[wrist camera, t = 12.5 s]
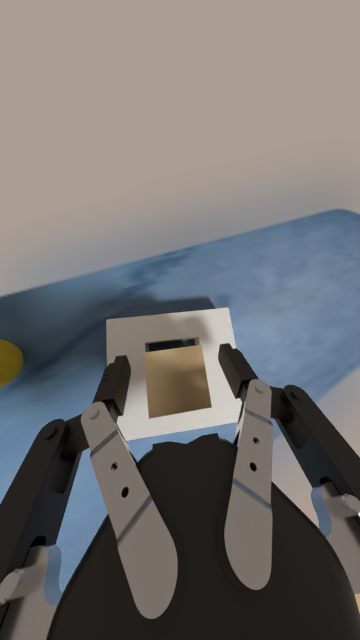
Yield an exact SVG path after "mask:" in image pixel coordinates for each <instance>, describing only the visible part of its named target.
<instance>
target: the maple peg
mask: <svg viewBox="0 0 360 640" xmlns="http://www.w3.org/2000/svg"><path fill="white" fill-rule="evenodd" d="M143 354H144V366H145V378H146V390H147V402H148V414H149V419H150V418H156V417H161V416H167V415H173V414H178V413H184V412H189V411H195V410H201V409H206V408H212V405H211V399H210V393H209V387H208V381H207V375H206V368H205V362H204V356H203V350H202V345H196V346H188V347H181V348H174V349H167V350H160V351H152V352H145V353H143Z"/></svg>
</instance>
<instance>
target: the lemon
mask: <svg viewBox="0 0 360 640" xmlns="http://www.w3.org/2000/svg"><path fill="white" fill-rule="evenodd" d="M23 362H24V359H23V354H22V352H21V351H20V349H19V348H18V347H17V346H15V345H14V344H12V343H10V342H8V341H5V340H2V339H0V388H1V387H3V386H4V385H6V384H8V383H9V382H11V381H12V380H13V379H14V378H15V377H16V376H17V375H18V373H19V372H20V371H21V369H22V366H23Z"/></svg>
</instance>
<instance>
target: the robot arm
mask: <svg viewBox="0 0 360 640" xmlns="http://www.w3.org/2000/svg"><path fill="white" fill-rule="evenodd" d="M218 361H219V364H220V366H221V368H222V370H223V373H224V375H225V377H226V379H227V382H228V384H229V386H230V388H231V391H232V393H233V395H234V397H235V399H239V398H240V399H241V401H242V403H241V408H240V412H239V417H238V422H237V426H236V430H235V434H234V438H233V442H232V443H231V442H230V441H228V440H225V439H222V438H219V436H218V433H215V434H209V435H203V436H201V437H199V438H197V439H195V440H193V441H191V442H190V443H188V444H182V443H176V442H170V441H169V442H163V443H157V444H153V449H152V450H150V451H149V452H147V453H146V454H145V455H144V456H143V457H142V458H141V459H140V460H139V461H138V462H137V460H136V458H135V456H134V454H133V452H132V451H131V449H130V447H129V445H128V444H127V442H126V440H125V438H124V436H123V434H122V432H121V430H120V428H119V427H118V425H117V420H118V416H123V414H124V409H125V403H126V398H127V392H128V387H129V382H130V376H131V367H130V364H129V361H128V358H127V355H121V356H116V357H115V360H114V363H110V364H109V365H108V366H107V367H106V369H105V371H104V373H103V376H102V379H101V382H100V384H99V387H98V390H97V392H96V395H95V398H94V400H93V403H92V404H91V405H89V406H88V407H87V408H86V409H85V410H84V412H83V413H82V414H80V415H78V416H76V417H74V418H72V419H70V420H67V421H64V420H62V419H56V420H53V421H51V422H49V423H48V424H47V425H45V426H44V427H43V428H42V429H41V430H40V432H39V433H38V435H37V437H36V438H35V440H34V442H33V444H32V446H31V448H30V450H29V452H28V454H27V455H26V457H25V459H24V461H23V463H22V465H21V467H20V469H19V470H18V472H17V474H16V476H15V478H14V480H13V482H12V484H11V486H10V487H9V489H8V491H7V493H6V495H5V497H4V499H3V501H2V503H1V504H0V640H360V613H359V610H358V606H357V602H356V599H355V595H354V594H358V593H360V458H359V456H358V455H357V454H356V453H355V451H354V450H353V449H352V448H351V447H350V446H349V444H348V443H347V442H346V441H345V439H344V438H343V437H342V436H341V435H340V433H339V432H338V431H337V430H336V429H335V427H334V426H333V425H332V424H331V422H330V421H329V420H328V419H327V418H326V416H325V415H324V414H323V413H322V411H321V410H320V409H319V408H318V407H317V405H316V404H315V403H314V402H313V400H312V399H311V398H310V397H309V396H308V394H307V393H306V392H305V391H304V390H302V389H301V388H299V387H297V386H294V385H287V386H285V388H284V389H282V388H276V387H271V386H268V385H267V384H266V383H265V382H263V381H261V380H259V379H258V377H257V376H256V374H255V373H254V371H253V370H252V368H251V367H250V365H249V363H247V360H246V359H245V358H244V356H243V354H242V353H241V352H240V351H239V350H238V349H236V348H234V349H233V348H232V346H231V345H230V343H225V344H220V346H219V353H218ZM270 418H274V419H275V420H276V422H277V424H278V426H279V428H280V430H281V431H282V433H283V435H284V437H285V439H286V440H287V442H288V444H289V446H290V448H291V450H292V451H293V453H294V455H295V457H296V459H297V460H298V462H299V464H300V466H301V468H302V470H303V471H304V473H305V475H306V477H307V479H308V480H309V482H310V484H311V486H312V488H313V490H312V492H311V499H312V503H313V506H314V509H315V511H316V513H317V516H318V520H319V529H318V527H317V526H316V525H315V524H314V523H313V522H312V521H311V520H310V519H309V518H308V517H307V516H306V515H305V514H304V513H303V512H302V511H301V510H300V509H299V508H298V507H297V506H296V505H295V504H294V503H293V502H292V501H291V500H290V499H289V498H288V497H287V496H286V495H285V494H284V493H283V492H282V491H281V490H280V489H279V488H278V487H277V486H276V485H275V484H274V483H273V482H272V481H271V471H272V445H273V424H272V423H271V422H270ZM89 447H90V450H91V454H90V458H91V462H92V465H93V468H94V471H95V474H96V477H97V480H98V483H99V486H100V489H101V492H102V495H103V499H104V502H105V505H106V508H107V511H108V514H107V516H106V518H105V519H104V521H103V523H102V525H101V526H100V528H99V530H98V532H97V533H96V535H95V537H94V539H93V540H92V542H91V544H90V546H89V547H88V549H87V551H86V553H85V554H84V556H83V558H82V560H81V561H80V563H79V565H78V566H77V568H76V570H75V572H74V573H73V575H72V577H71V579H70V580H69V582H68V584H67V586H66V588H65V590H64V592H63V594H62V593H61V591H60V588H59V573H60V567H61V551H60V548H59V547H58V546H57V545H55V544H56V540H57V537H58V534H59V530H60V527H61V523H62V520H63V516H64V513H65V510H66V506H67V503H68V499H69V496H70V492H71V489H72V485H73V482H74V479H75V475H76V472H77V468H78V465H79V461H80V458H81V455H82V451H84V450H86V449H87V448H89Z"/></svg>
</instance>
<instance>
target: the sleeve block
mask: <svg viewBox="0 0 360 640" xmlns="http://www.w3.org/2000/svg"><path fill="white" fill-rule="evenodd" d="M106 333H107V366H108V365H109V364H110V363H114V360H115V357H116V356H121V355H127V358H128V361H129V364H130V367H131V376H130V382H129V387H128V392H127V398H126V403H125V409H124V414H123V416H118V420H117V425H118V427H119V428H120V430H121V432H122V434H123V436H124V438H125V440H126V441H128V440H134V439H140V438H145V437H151V436H157V435H163V434H169V433H175V432H181V431H187V430H193V429H199V428H205V427H211V426H217V425H223V424H229V423H234V422H238V417H239V412H240V408H241V403H242V401H241V399H240V398H239V399H235V397H234V395H233V393H232V391H231V388H230V386H229V384H228V382H227V379H226V377H225V375H224V373H223V370H222V368H221V366H220V364H219V361H218V353H219V346H220V344H225V343H230V345H231V346H232V348H233V349H234V348H236V345H235V340H234V335H233V329H232V324H231V319H230V314H229V308H219V309H209V310H199V311H188V312H178V313H168V314H158V315H147V316H137V317H127V318H116V319H106ZM187 339H195V345H202V350H203V356H204V362H205V368H206V375H207V381H208V387H209V393H210V399H211V405H212V408H206V409H201V410H195V411H189V412H184V413H178V414H173V415H167V416H161V417H156V418H150V419H149V414H148V402H147V390H146V378H145V366H144V354H143V353H145V352H149V344H152V343H160V342H169V341H178V340H187Z"/></svg>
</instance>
